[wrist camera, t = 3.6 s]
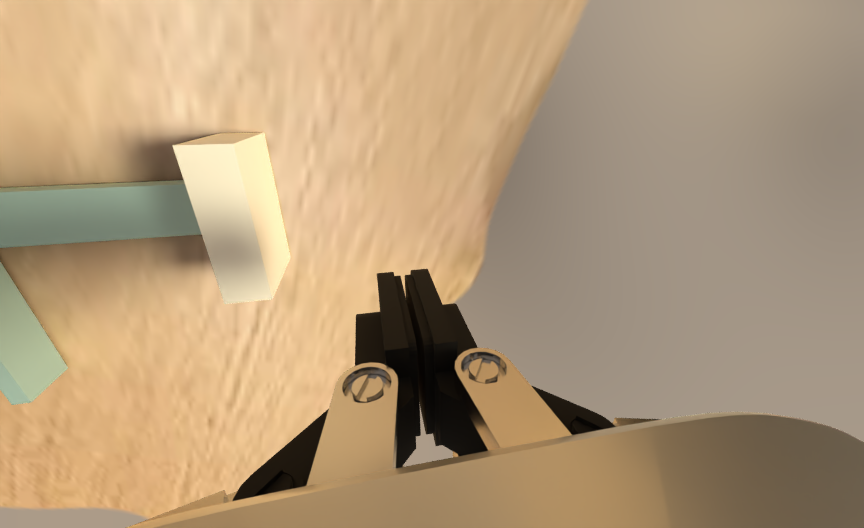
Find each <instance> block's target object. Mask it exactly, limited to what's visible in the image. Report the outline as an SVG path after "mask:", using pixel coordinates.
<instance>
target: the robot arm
mask: <svg viewBox="0 0 864 528" xmlns="http://www.w3.org/2000/svg"><path fill="white" fill-rule="evenodd" d="M377 280H378V291H379V302H380V312H374V313H365V314H357V315H356V346H355V366H354V367H352V368H350V369H349V370H347V371H346V372H344V374H343V375H342V376H341V377H340V378H339V380H338V381H337V383H336V386H335V389H334V393H333V396H332V400H331V403H330V407H329V409H328V410H327V411H326V412H324V413H323V414H322V415H321V416H320V417H319V418H317V419H316V420H315V421H314V422H313V423H312V424H310V425H309V426H308V427H307V428H306V429H305V430H303V431H302V432H301V433H300V434H299V435H298V436H296V437H295V438H294V439H293V440H292V441H291V442H289V443H288V444H287V445H286V446H285V447H283V448H282V449H281V450H280V451H279V452H278V453H276V454H275V455H274V456H273V457H272V458H271V459H269V460H268V461H267V462H266V463H265V464H264V465H262V466H261V467H260V468H259V469H258V470H257V471H255V472H254V473H253V474H252V475H251V476H250V477H249V478H248V479H247V480H246V481H245V482H244V483H243V484H242V485H241V487H240V488H239V490H238V491H237V492H234V493H232V494H229V495H226V493H225V490H223V491H221V492H218V493H215V494H213V495H210V496H208V497H205V498H202V499H200V500H197V501H195V502H192V503H190V504H187V505H184V506H182V507H179V508H177V509H174V510H171V511H169V512H166V513H164V514H161V515H158V516H156V517H153V518H151V519H148V520H145V521H143V522H140V523H138V524H135V525H132V526H129V527H126V528H864V442H863V441H861V440H859V439H857V438H856V437H854V436H852V435H850V434H848V433H845V432H843V431H841V430H838V429H836V428H832V427H830V426H827V425H823V424H820V423H817V422H813V421H808V420H804V419H800V418H794V417H788V416H781V415H774V414H768V413H755V412H719V413H705V414H697V415H690V416H681V417H673V418H667V419H640V418H614V422H613V423H611V422H610V421H609V420H607V419H606V418H604V417H603V416H601V415H599V414H597V413H595V412H593V411H590V410H588V409H586V408H583V407H581V406H578V405H576V404H573V403H571V402H569V401H567V400H564V399H562V398H559V397H557V396H554V395H552V394H550V393H548V392H545V391H543V390H540V389H538V388H536V387H533V386H531V385H530V384H529V383H528V381H527V380H526V379H525V378H524V377H523V375H522V374H521V373H520V372H519V371H518V370H517V368H516V367H515V366H514V365H513V363H512V362H511V361H510V360H509V359H508V358H507V357H505V355H504V354H502V353H500V352H498V351H496V350H492V349H488V348H478V347H477V345H476V343H475V341H474V339H473V337H472V335H471V333H470V331H469V329H468V327H467V325H466V323H465V321H464V319H463V317H462V315H461V313H460V311H459V309H458V307H457V305H456V304H446V305H442V303H441V300H440V298H439V295H438V293H437V291H436V288H435V286H434V283H433V281H432V279H431V276H430V274H429V271H428V269H421V270H411V275H405V290H406V298H405V293H404V289H403V285H402V281H401V277H400V276H394V273H393V272H388V273H378V274H377ZM419 402H420V405H419ZM420 407H421V412H422V417H423V422H424V427H425V431H426V434H432V433H433V435H434V440H435V444H436V446H439V445H443V446H445V447H447V448H449V449H450V450H452V451H453V458H448V459H443V460H437V461H432V462H427V463H422V464H417V465H412V466H406V467H404V463H405V462H406V460H407V459H408V458H409V456H410V455H411V454H412V453H413V451H414V450H415V449H416V436H420Z"/></svg>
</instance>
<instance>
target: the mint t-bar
mask: <svg viewBox="0 0 864 528" xmlns="http://www.w3.org/2000/svg"><path fill="white" fill-rule="evenodd" d="M172 146H173V149H174V152H175V155H176V158H177V161H178V164H179V167H180V170H181V173H182V176H183V179H184V180H172V181H148V182H125V183H101V184H78V185H54V186H31V187H7V188H0V248H7V247H22V246H37V245H52V244H67V243H81V242H96V241H111V240H126V239H141V238H156V237H171V236H186V235H200V234H202V237H203V240H204V243H205V246H206V249H207V252H208V255H209V258H210V261H211V264H212V267H213V270H214V273H215V276H216V280H217V283H218V286H219V289H220V292H221V295H222V298H223V301H224V304H230V303H240V302H250V301H260V300H270V299H273V297H274V295H275V292H276V290H277V288H278V285H279V283H280V281H281V279H282V276H283V274H284V272H285V269H286V267H287V265H288V262H289V260H290V258H291V257H290V253H289V248H288V243H287V238H286V234H285V229H284V224H283V219H282V215H281V210H280V205H279V201H278V196H277V191H276V186H275V182H274V177H273V172H272V167H271V163H270V158H269V153H268V149H267V144H266V139H265V134H264V132H261V133H219V134H215V135H211V136H207V137H203V138H199V139H195V140H191V141H188V142H184V143H180V144H176V145H172ZM67 369H68V367H67V365H66V364H65V362H64V361H63V359H62V358H61V356H60V354H59V353H58V351H57V350H56V348H55V347H54V345H53V343H52V342H51V340H50V339H49V337H48V336H47V334H46V332H45V331H44V329H43V328H42V326H41V325H40V323H39V321H38V320H37V318H36V317H35V315H34V314H33V312H32V310H31V309H30V307H29V306H28V304H27V303H26V301H25V299H24V298H23V296H22V295H21V293H20V292H19V290H18V288H17V287H16V285H15V284H14V282H13V281H12V279H11V277H10V276H9V274H8V273H7V271H6V270H5V268H4V266H3V265H2V263H1V262H0V390H1V391H2V393H3V394H4V395H5V397H6V398H7V399H8V400H9V402H10V403H11V404H12V405H15V404H23V403H30V402H32V401H33V400H34V399H35V398H36V397H38V396H39V395H40V394H41V393H42V392H43V391H44V390H45V389H46V388H47V387H48V386H49V385H50V384H52V383H53V382H54V381H55V380H56V379H57V378H58V377H59V376H60V375H61V374H62V373H63V372H65V371H66V370H67Z"/></svg>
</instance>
